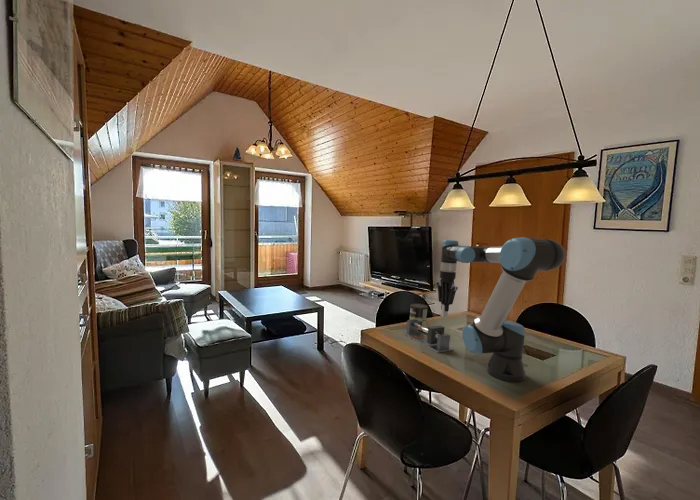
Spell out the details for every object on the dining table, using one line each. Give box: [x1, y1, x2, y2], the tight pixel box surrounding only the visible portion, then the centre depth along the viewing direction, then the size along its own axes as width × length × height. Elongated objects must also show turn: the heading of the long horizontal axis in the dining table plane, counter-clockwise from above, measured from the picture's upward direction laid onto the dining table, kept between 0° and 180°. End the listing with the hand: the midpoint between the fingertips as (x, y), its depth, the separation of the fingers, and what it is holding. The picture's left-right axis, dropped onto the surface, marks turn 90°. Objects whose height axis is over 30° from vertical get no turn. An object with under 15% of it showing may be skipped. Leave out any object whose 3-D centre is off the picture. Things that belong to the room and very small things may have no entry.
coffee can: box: [409, 303, 428, 332], centre depth 205 cm, size 10×10×14 cm
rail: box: [402, 319, 454, 354], centre depth 182 cm, size 30×10×8 cm, turn 26°
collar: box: [426, 325, 445, 345], centre depth 176 cm, size 3×8×8 cm, turn 116°
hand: (444, 316), depth 170 cm, fingers closed
